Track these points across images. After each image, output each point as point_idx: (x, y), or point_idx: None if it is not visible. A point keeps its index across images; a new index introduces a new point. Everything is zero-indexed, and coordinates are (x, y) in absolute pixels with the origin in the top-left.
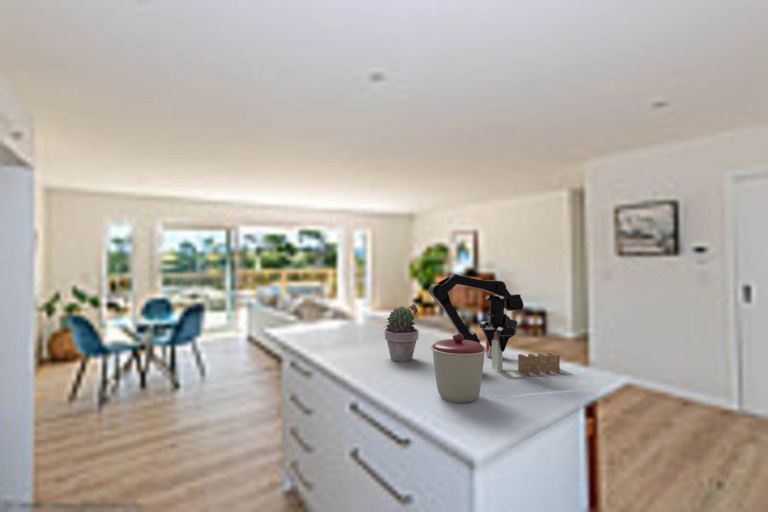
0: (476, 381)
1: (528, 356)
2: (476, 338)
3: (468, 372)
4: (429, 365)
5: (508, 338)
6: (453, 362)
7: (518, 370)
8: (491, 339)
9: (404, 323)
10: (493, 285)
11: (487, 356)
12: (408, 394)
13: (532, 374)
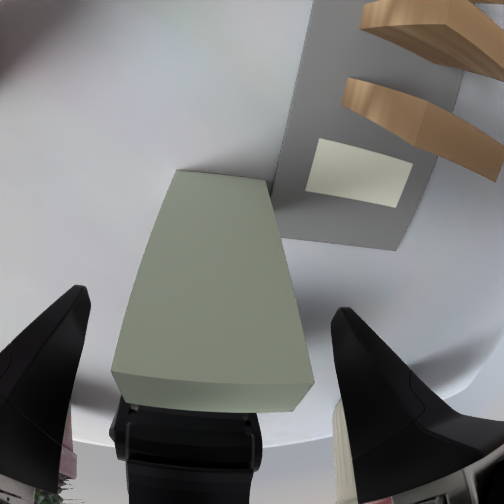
0: None
1: (430, 25)
2: (246, 493)
3: None
4: (100, 377)
5: (459, 422)
6: None
7: (347, 107)
8: (56, 361)
9: (51, 493)
10: None
11: None
12: (303, 430)
13: (420, 72)
